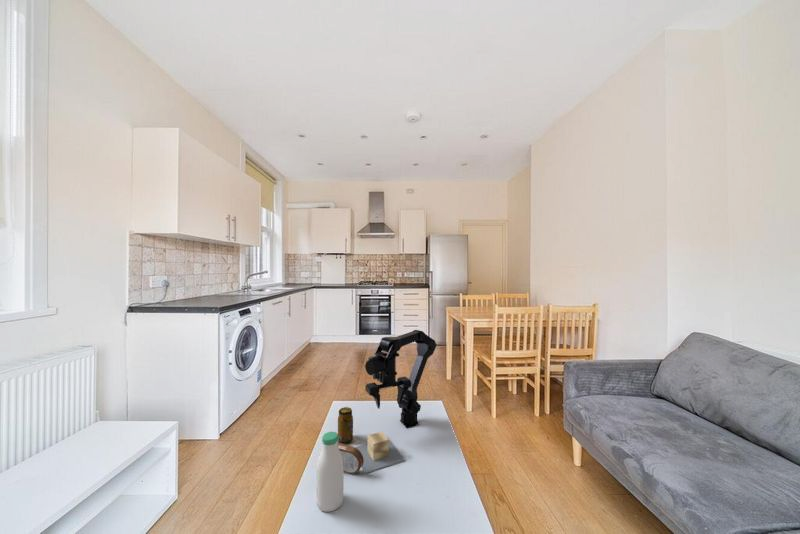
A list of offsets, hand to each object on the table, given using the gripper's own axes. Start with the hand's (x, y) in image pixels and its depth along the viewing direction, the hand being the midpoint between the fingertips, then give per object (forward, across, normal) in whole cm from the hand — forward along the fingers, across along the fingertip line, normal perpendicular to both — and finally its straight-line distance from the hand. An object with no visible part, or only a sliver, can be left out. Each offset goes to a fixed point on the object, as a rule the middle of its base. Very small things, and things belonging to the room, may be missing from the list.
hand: (388, 406), depth 123 cm
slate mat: (+12, +9, +10) cm, 18 cm away
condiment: (+12, +17, -4) cm, 21 cm away
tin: (+12, +23, +12) cm, 29 cm away
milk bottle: (+12, +30, +24) cm, 40 cm away
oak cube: (+12, +9, +10) cm, 18 cm away
